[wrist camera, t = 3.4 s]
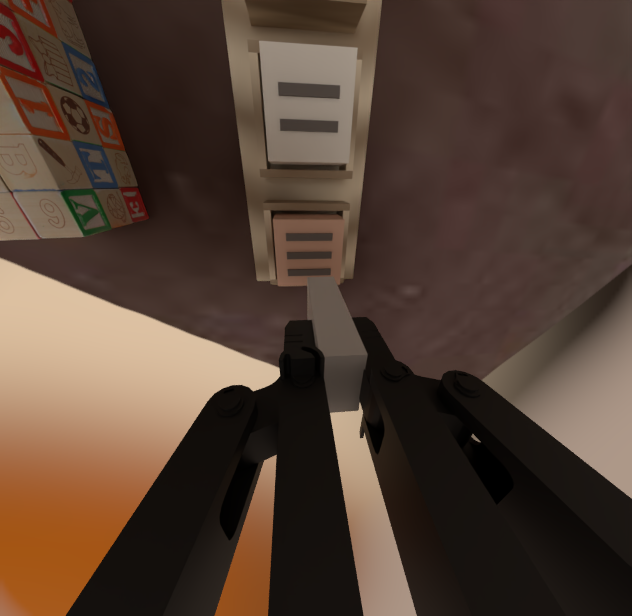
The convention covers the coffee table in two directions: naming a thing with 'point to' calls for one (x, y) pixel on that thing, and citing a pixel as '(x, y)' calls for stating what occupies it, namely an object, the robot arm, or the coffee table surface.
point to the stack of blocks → (57, 131)
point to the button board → (245, 66)
